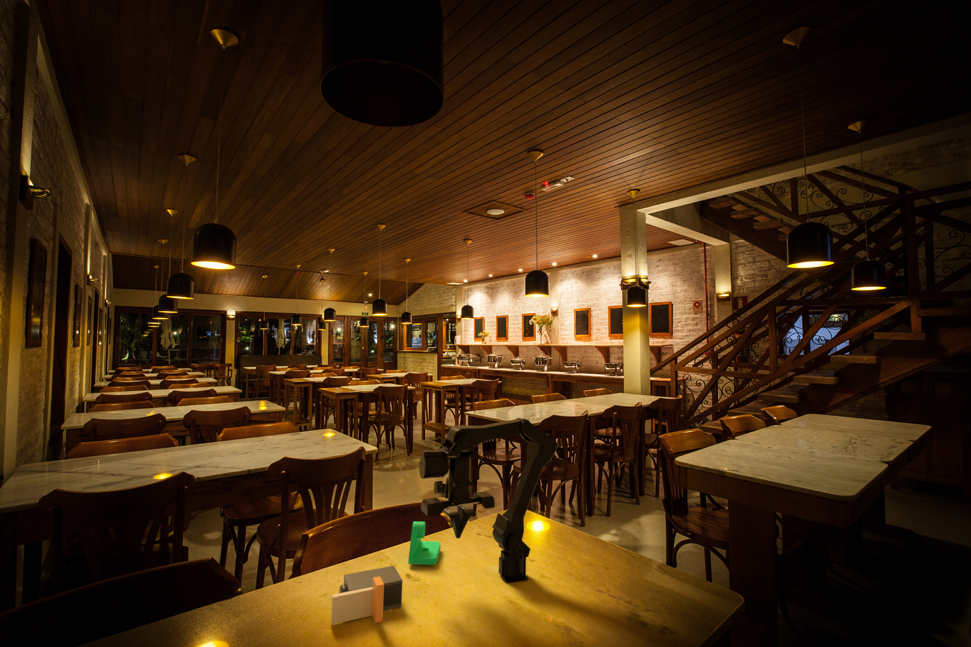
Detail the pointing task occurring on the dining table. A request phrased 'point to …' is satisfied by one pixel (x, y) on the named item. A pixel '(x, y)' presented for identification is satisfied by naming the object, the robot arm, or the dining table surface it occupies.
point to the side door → (359, 603)
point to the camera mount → (422, 547)
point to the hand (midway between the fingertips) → (457, 537)
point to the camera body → (366, 580)
